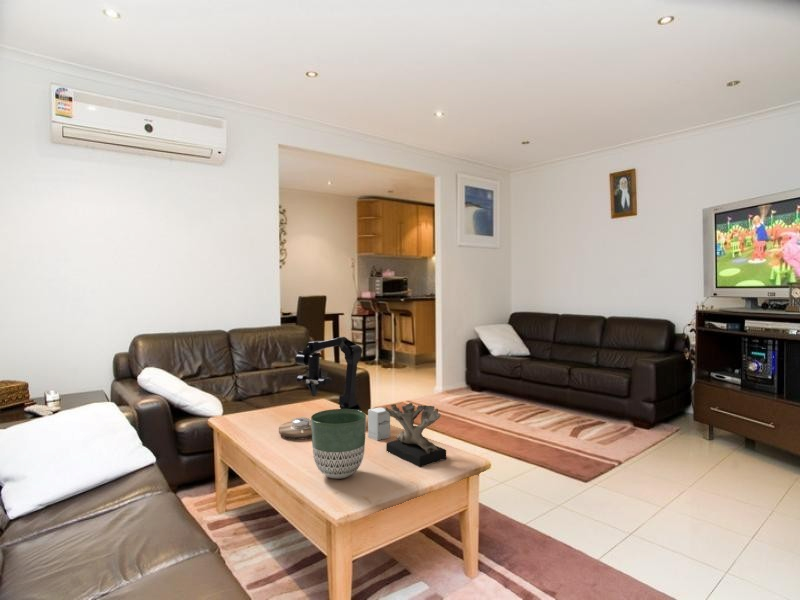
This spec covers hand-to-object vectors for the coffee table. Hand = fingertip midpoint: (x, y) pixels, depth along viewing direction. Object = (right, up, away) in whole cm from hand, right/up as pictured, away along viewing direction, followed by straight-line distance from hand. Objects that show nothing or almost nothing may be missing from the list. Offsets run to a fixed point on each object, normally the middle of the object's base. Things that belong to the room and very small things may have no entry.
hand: (314, 396), depth 231 cm
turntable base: (-2, -13, -22) cm, 25 cm away
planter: (+22, -14, -69) cm, 74 cm away
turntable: (-2, -11, -22) cm, 25 cm away
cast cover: (-2, -9, -22) cm, 24 cm away
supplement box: (+34, -13, -28) cm, 46 cm away
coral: (+49, -13, -53) cm, 73 cm away
